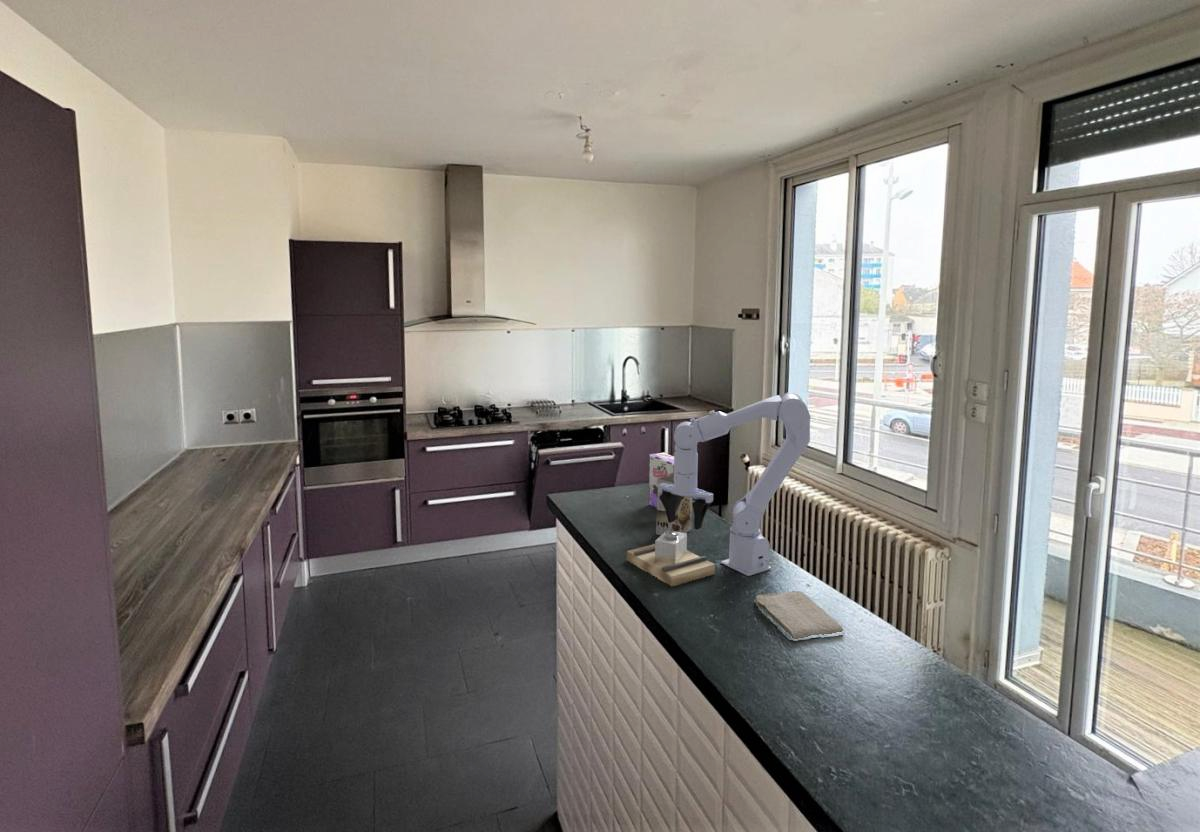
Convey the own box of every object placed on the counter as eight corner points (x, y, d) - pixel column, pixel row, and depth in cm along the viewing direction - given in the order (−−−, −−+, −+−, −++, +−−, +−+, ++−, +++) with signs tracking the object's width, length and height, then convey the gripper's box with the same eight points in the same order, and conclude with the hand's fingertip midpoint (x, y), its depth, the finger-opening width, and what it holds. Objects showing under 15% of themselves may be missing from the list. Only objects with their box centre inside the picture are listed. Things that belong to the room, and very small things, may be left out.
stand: (714, 574, 165) (715, 561, 164) (672, 586, 158) (672, 573, 157) (667, 549, 180) (667, 537, 179) (626, 560, 173) (626, 547, 172)
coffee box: (675, 539, 187) (677, 482, 183) (655, 534, 190) (656, 478, 187) (692, 530, 194) (694, 474, 191) (672, 525, 198) (674, 471, 194)
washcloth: (798, 598, 153) (799, 585, 153) (846, 638, 136) (847, 624, 135) (749, 604, 150) (750, 591, 150) (792, 646, 133) (792, 631, 133)
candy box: (647, 504, 216) (648, 453, 213) (663, 502, 219) (664, 451, 216) (672, 518, 204) (673, 464, 201) (688, 515, 207) (690, 461, 204)
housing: (675, 564, 164) (675, 540, 163) (654, 560, 166) (655, 536, 165) (686, 552, 171) (687, 529, 170) (666, 549, 173) (667, 526, 172)
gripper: (720, 473, 166) (718, 526, 169) (669, 463, 175) (668, 514, 178) (705, 479, 161) (703, 534, 164) (653, 469, 170) (653, 521, 173)
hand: (684, 524), depth 170 cm, fingers open, 7 cm apart
